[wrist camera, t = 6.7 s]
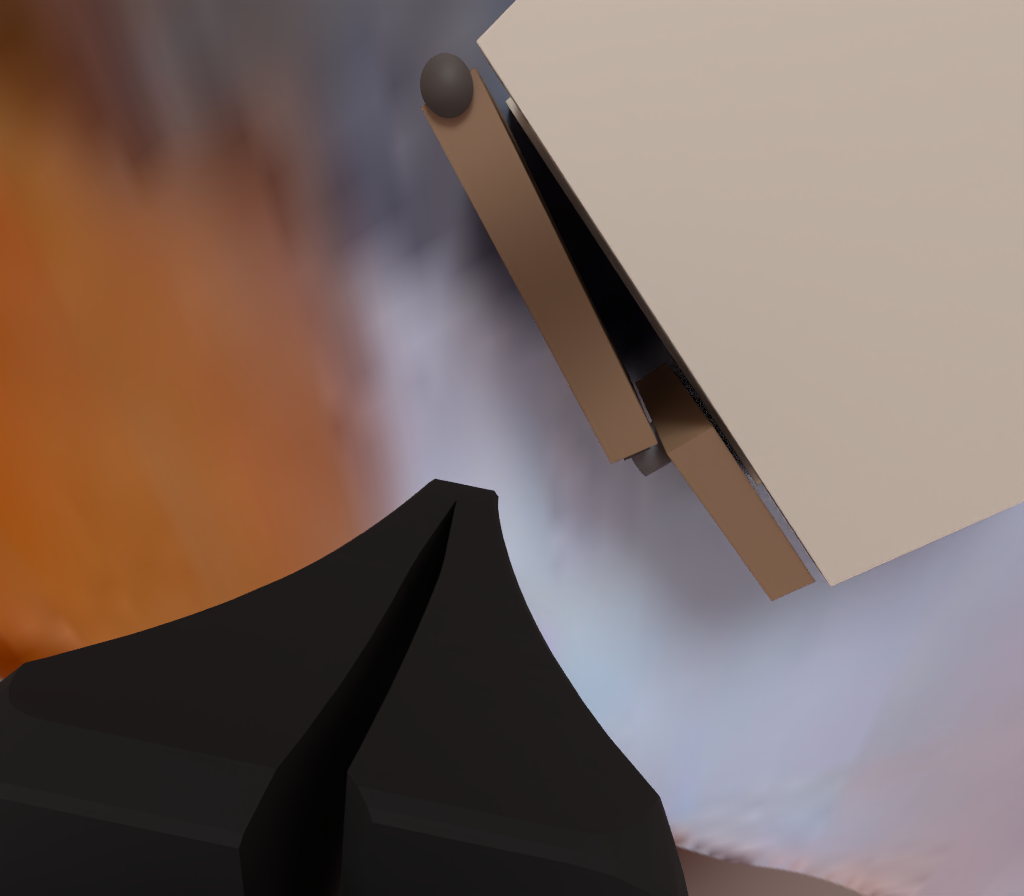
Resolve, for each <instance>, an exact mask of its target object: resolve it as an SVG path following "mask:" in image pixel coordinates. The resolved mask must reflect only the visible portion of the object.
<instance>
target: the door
mask: <svg viewBox="0 0 1024 896" xmlns="http://www.w3.org/2000/svg"><path fill="white" fill-rule="evenodd" d="M420 88H421V94H422V97H423V99H424V102H425V103H426V104H424V105H423V106H422V107H421V108H422V110H423V112H424V114H425V116H426V118H427V119H428V121H429V123H430V125H431V127H432V129H433V131H434V133H435V134H436V136H437V138H438V140H439V142H440V144H441V146H442V148H443V149H444V151H445V153H446V155H447V157H448V159H449V161H450V163H451V164H452V166H453V168H454V170H455V172H456V174H457V176H458V178H459V179H460V181H461V183H462V185H463V187H464V189H465V191H466V193H467V194H468V196H469V198H470V200H471V202H472V204H473V206H474V208H475V209H476V211H477V213H478V215H479V217H480V219H481V221H482V223H483V224H484V226H485V228H486V230H487V232H488V234H489V236H490V238H491V239H492V241H493V243H494V245H495V247H496V249H497V251H498V253H499V254H500V256H501V258H502V260H503V262H504V264H505V266H506V268H507V269H508V271H509V273H510V275H511V277H512V279H513V281H514V283H515V285H516V286H517V288H518V290H519V292H520V294H521V296H522V298H523V300H524V301H525V303H526V305H527V307H528V309H529V311H530V313H531V315H532V316H533V318H534V320H535V322H536V324H537V326H538V328H539V330H540V331H541V333H542V335H543V337H544V339H545V341H546V343H547V345H548V346H549V348H550V350H551V352H552V354H553V356H554V358H555V360H556V361H557V363H558V365H559V367H560V369H561V371H562V373H563V375H564V376H565V378H566V380H567V382H568V384H569V386H570V388H571V390H572V391H573V393H574V395H575V397H576V399H577V401H578V403H579V405H580V406H581V408H582V410H583V412H584V414H585V416H586V418H587V420H588V421H589V423H590V425H591V427H592V429H593V431H594V433H595V435H596V436H597V438H598V440H599V442H600V444H601V446H602V448H603V450H604V451H605V453H606V455H607V457H608V459H609V461H610V463H611V464H612V463H614V462H617V461H619V460H621V459H623V458H624V460H626V459H628V458H631V457H633V456H635V455H638V454H640V453H642V452H644V451H647V450H649V449H650V447H651V446H653V445H655V444H658V442H657V440H656V438H655V435H654V433H653V431H652V428H651V426H650V424H649V421H648V419H647V417H646V414H645V412H644V410H643V407H642V405H641V403H640V400H639V398H638V396H637V393H636V391H635V389H634V386H633V384H632V382H631V379H630V377H629V375H628V373H627V370H626V368H625V366H624V364H623V362H622V360H621V358H620V356H619V354H618V352H617V350H616V348H615V346H614V343H613V341H612V339H611V337H610V335H609V333H608V331H607V329H606V327H605V325H604V323H603V321H602V319H601V317H600V314H599V312H598V310H597V308H596V306H595V304H594V302H593V300H592V298H591V296H590V294H589V292H588V290H587V288H586V285H585V283H584V281H583V279H582V277H581V275H580V273H579V271H578V269H577V267H576V265H575V263H574V261H573V259H572V256H571V254H570V252H569V250H568V248H567V246H566V244H565V242H564V240H563V238H562V236H561V234H560V232H559V230H558V227H557V225H556V223H555V221H554V219H553V217H552V215H551V213H550V211H549V209H548V207H547V205H546V203H545V201H544V198H543V196H542V194H541V192H540V190H539V188H538V186H537V184H536V182H535V180H534V178H533V176H532V174H531V172H530V169H529V167H528V165H527V163H526V161H525V159H524V157H523V155H522V153H521V151H520V149H519V147H518V145H517V143H516V140H515V138H514V136H513V134H512V132H511V130H510V128H509V126H508V124H507V122H506V120H505V118H504V116H503V114H502V113H501V111H500V109H499V107H498V106H497V104H496V102H495V101H494V99H493V97H492V95H491V94H490V92H489V90H488V88H487V87H486V85H485V83H484V81H483V80H482V78H481V76H480V75H479V73H478V71H477V69H476V68H473V69H472V70H471V71H469V69H468V68H467V66H466V65H465V63H464V62H463V61H462V60H461V59H460V58H458V57H457V56H455V55H452V54H448V53H442V54H438V55H436V56H434V57H433V58H431V59H430V60H429V61H428V62H427V64H426V65H425V67H424V69H423V71H422V74H421V80H420Z"/></svg>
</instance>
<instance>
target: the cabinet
mask: <svg viewBox="0 0 1024 896" xmlns="http://www.w3.org/2000/svg"><path fill="white" fill-rule="evenodd" d="M477 43H478V45H479V48H480V50H481V52H482V54H483V55H484V57H485V58H486V60H487V61H488V63H489V64H490V66H491V67H492V69H493V70H494V72H495V74H496V75H497V77H498V78H499V80H500V81H501V83H502V84H503V86H504V87H505V89H506V90H507V92H508V93H509V95H510V98H509V99H508V100H507V101H506V103H507V106H508V107H509V109H510V110H511V112H512V113H513V115H514V117H515V118H516V120H517V121H518V123H519V124H520V126H521V127H522V129H523V130H524V132H525V133H526V135H527V136H528V138H529V139H530V141H531V142H532V144H533V145H534V147H535V148H536V150H537V152H538V153H539V155H540V156H541V158H542V159H543V161H544V162H545V164H546V165H547V167H548V168H549V170H550V171H551V173H552V174H553V176H554V177H555V179H556V180H557V182H558V184H559V185H560V187H561V188H562V190H563V191H564V193H565V194H566V196H567V197H568V199H569V200H570V202H571V203H572V205H573V206H574V208H575V209H576V211H577V212H578V214H579V215H580V217H581V219H582V220H583V222H584V223H585V225H586V226H587V228H588V229H589V231H590V232H591V234H592V235H593V237H594V238H595V240H596V241H597V243H598V244H599V246H600V247H601V249H602V251H603V252H604V254H605V255H606V257H607V258H608V260H609V261H610V263H611V264H612V266H613V267H614V269H615V270H616V272H617V273H618V275H619V276H620V278H621V279H622V281H623V282H624V284H625V286H626V287H627V289H628V290H629V292H630V293H631V295H632V296H633V298H634V299H635V301H636V302H637V304H638V305H639V307H640V308H641V310H642V311H643V313H644V314H645V316H646V318H647V319H648V321H649V322H650V324H651V325H652V327H653V328H654V330H655V331H656V333H657V334H658V336H659V337H660V339H661V340H662V342H663V343H664V345H665V346H666V348H667V349H668V351H669V353H670V354H671V356H672V357H673V359H674V360H675V362H676V363H677V365H678V366H679V368H680V369H681V371H682V372H683V374H684V375H685V377H686V378H687V380H688V381H689V383H690V385H691V386H692V388H693V389H694V391H695V392H696V394H697V395H698V397H699V398H700V400H701V401H702V403H703V404H704V406H705V407H706V409H707V410H708V412H709V413H710V415H711V416H712V418H713V420H714V421H715V423H716V424H717V426H718V427H719V429H720V430H721V432H722V433H723V435H724V436H725V438H726V439H727V441H728V442H729V444H730V445H731V447H732V448H733V450H734V452H735V453H736V455H737V456H738V458H739V459H740V461H741V462H742V464H743V465H744V467H745V468H746V470H747V471H748V473H749V474H750V476H751V477H752V479H753V480H754V481H755V483H756V484H757V485H759V484H761V483H762V484H763V485H764V487H765V488H766V490H767V491H768V493H769V494H770V496H771V497H772V499H773V500H774V502H775V504H776V505H777V507H778V508H779V510H780V511H781V513H782V514H783V516H784V517H785V519H786V520H787V522H788V523H789V525H790V527H791V528H792V530H793V531H794V533H795V534H796V536H797V537H798V539H799V540H800V542H801V543H802V545H803V547H804V548H805V550H806V551H807V553H808V554H809V556H810V557H811V559H812V560H813V562H814V563H815V565H816V566H817V568H818V569H819V571H820V572H821V574H822V575H823V576H824V578H825V579H826V580H827V582H828V583H829V585H830V586H833V585H836V584H838V583H840V582H843V581H845V580H847V579H849V578H852V577H854V576H856V575H858V574H861V573H863V572H865V571H867V570H870V569H872V568H874V567H876V566H879V565H881V564H883V563H886V562H888V561H890V560H892V559H895V558H897V557H899V556H901V555H904V554H906V553H908V552H910V551H913V550H915V549H917V548H920V547H922V546H924V545H926V544H929V543H931V542H933V541H935V540H938V539H940V538H942V537H944V536H947V535H949V534H951V533H953V532H956V531H958V530H960V529H963V528H965V527H967V526H969V525H972V524H974V523H976V522H978V521H981V520H983V519H985V518H987V517H990V516H992V515H994V514H996V513H999V512H1001V511H1003V510H1006V509H1008V508H1010V507H1012V506H1015V505H1017V504H1019V503H1021V502H1024V0H516V1H515V2H514V3H513V4H512V5H511V6H510V7H509V8H508V9H507V10H506V11H505V12H504V13H503V14H502V15H501V16H500V17H499V18H498V20H497V21H496V22H495V23H494V24H493V25H492V26H491V27H490V28H489V29H488V30H487V31H486V32H485V33H484V34H483V35H482V36H481V37H480V38H479V39H478V40H477ZM636 386H637V388H638V390H639V392H640V394H641V397H642V399H643V401H644V403H645V406H646V408H647V410H648V412H649V415H650V417H651V419H652V421H653V422H651V423H650V426H651V428H652V431H653V433H654V435H655V438H656V440H657V442H658V444H655V445H653V446H651V447H650V449H649V450H647V451H644V452H642V453H640V454H638V455H635V456H633V457H631V458H632V460H633V461H634V463H635V464H636V466H637V467H638V468H639V470H640V471H641V472H642V473H643V474H644V475H645V476H647V475H649V474H651V473H652V472H654V471H656V470H658V469H659V468H661V467H663V466H664V465H666V464H668V463H670V462H671V461H672V462H673V463H674V464H675V466H676V467H677V469H678V470H679V471H680V473H681V474H682V476H683V477H684V478H685V480H686V481H687V483H688V484H689V485H690V487H691V488H692V490H693V491H694V493H695V494H696V495H697V497H698V498H699V500H700V501H701V502H702V504H703V505H704V507H705V508H706V509H707V511H708V512H709V514H710V515H711V516H712V518H713V519H714V521H715V522H716V523H717V525H718V526H719V528H720V529H721V531H722V532H723V533H724V535H725V536H726V538H727V539H728V540H729V542H730V543H731V545H732V546H733V547H734V549H735V550H736V552H737V553H738V554H739V556H740V557H741V559H742V560H743V561H744V563H745V564H746V566H747V567H748V568H749V570H750V571H751V573H752V574H753V576H754V577H755V578H756V580H757V581H758V583H759V584H760V585H761V587H762V588H763V590H764V591H765V592H766V594H767V595H768V597H769V598H770V599H771V601H773V600H775V599H777V598H780V597H782V596H784V595H786V594H789V593H791V592H793V591H795V590H797V589H800V588H802V587H804V586H806V585H809V584H811V583H813V582H815V580H814V579H813V577H812V576H811V574H810V572H809V571H808V569H807V568H806V566H805V565H804V563H803V562H802V560H801V559H800V557H799V556H798V554H797V553H796V551H795V550H794V548H793V547H792V545H791V544H790V542H789V541H788V539H787V538H786V536H785V535H784V533H783V532H782V530H781V529H780V527H779V526H778V524H777V523H776V521H775V520H774V518H773V516H772V515H771V513H770V512H769V510H768V509H767V507H766V506H765V504H764V503H763V501H762V500H761V498H760V497H759V495H758V494H757V492H756V491H755V489H754V488H753V486H752V485H751V483H750V482H749V480H748V479H747V477H746V476H745V474H744V473H743V471H742V470H741V468H740V467H739V465H738V463H737V462H736V460H735V459H734V457H733V456H732V454H731V453H730V451H729V450H728V448H727V447H726V445H725V444H724V442H723V441H722V439H721V438H720V436H719V435H718V433H717V432H716V430H715V429H714V427H713V426H712V424H711V423H710V422H709V420H708V419H707V417H706V416H705V415H704V413H703V412H702V410H701V409H700V408H699V406H698V405H697V403H696V402H695V401H694V399H693V398H692V397H691V395H690V394H689V392H688V391H687V390H686V388H685V387H684V385H683V384H682V383H681V381H680V380H679V378H678V377H677V376H676V374H675V373H674V371H673V370H672V369H671V367H670V366H669V365H668V363H667V362H666V363H665V364H663V365H662V366H660V367H659V368H657V369H656V370H654V371H653V372H651V373H650V374H648V375H647V376H645V377H644V378H642V379H641V380H639V381H638V382H636Z"/></svg>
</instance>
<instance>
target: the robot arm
mask: <svg viewBox="0 0 1024 896" xmlns="http://www.w3.org/2000/svg"><path fill="white" fill-rule="evenodd" d="M0 896H688V891H687V887H686V882H685V878H684V874H683V870H682V867H681V863H680V860H679V856H678V853H677V849H676V846H675V842H674V839H673V836H672V832H671V829H670V826H669V823H668V820H667V817H666V814H665V810H664V807H663V804H662V802H661V799H660V796H659V795H658V794H657V793H656V791H655V790H654V789H653V788H652V787H651V786H650V784H649V783H648V782H647V781H646V780H645V779H644V777H643V776H642V775H641V774H640V773H639V771H638V770H637V769H636V768H635V767H634V766H633V764H632V763H631V762H630V761H629V760H628V759H627V757H626V756H625V755H624V754H623V753H622V752H621V750H620V749H619V748H618V747H617V746H616V744H615V743H614V742H613V741H612V740H611V739H610V737H609V736H608V735H607V734H606V732H605V731H604V729H603V728H602V727H601V725H600V724H599V723H598V721H597V720H596V719H595V717H594V716H593V714H592V713H591V712H590V710H589V709H588V708H587V706H586V705H585V704H584V702H583V701H582V699H581V698H580V696H579V695H578V693H577V691H576V690H575V688H574V687H573V685H572V684H571V682H570V681H569V679H568V678H567V676H566V674H565V673H564V671H563V670H562V668H561V667H560V665H559V664H558V662H557V660H556V659H555V657H554V656H553V654H552V652H551V651H550V649H549V647H548V645H547V643H546V641H545V640H544V638H543V636H542V634H541V632H540V631H539V629H538V627H537V625H536V623H535V621H534V619H533V616H532V614H531V612H530V610H529V608H528V606H527V604H526V602H525V599H524V597H523V594H522V592H521V590H520V587H519V585H518V582H517V579H516V577H515V574H514V571H513V568H512V565H511V562H510V559H509V556H508V552H507V549H506V546H505V542H504V539H503V534H502V530H501V525H500V519H499V512H498V496H497V494H496V493H495V491H492V490H487V489H483V488H478V487H473V486H468V485H463V484H458V483H453V482H448V481H444V480H439V479H434V480H433V481H431V482H429V483H428V484H427V485H426V486H425V487H423V488H422V489H421V490H420V491H419V492H417V493H416V494H415V495H414V496H412V497H411V498H410V499H409V500H407V501H406V502H405V503H404V504H402V505H401V506H400V507H399V508H397V509H396V510H394V511H393V512H392V513H390V514H389V515H388V516H386V517H385V518H384V519H382V520H381V521H379V522H378V523H377V524H375V525H374V526H373V527H371V528H370V529H368V530H367V531H365V532H364V533H362V534H360V535H359V536H357V537H356V538H354V539H353V540H351V541H350V542H348V543H346V544H345V545H343V546H342V547H340V548H339V549H337V550H335V551H334V552H332V553H330V554H328V555H327V556H325V557H323V558H321V559H320V560H318V561H316V562H314V563H312V564H310V565H308V566H306V567H304V568H303V569H301V570H299V571H297V572H295V573H293V574H291V575H288V576H286V577H284V578H282V579H280V580H277V581H275V582H273V583H270V584H268V585H266V586H263V587H261V588H259V589H256V590H254V591H252V592H249V593H247V594H245V595H242V596H240V597H238V598H235V599H233V600H230V601H228V602H225V603H223V604H220V605H217V606H215V607H212V608H209V609H206V610H204V611H201V612H198V613H195V614H193V615H190V616H187V617H184V618H181V619H178V620H175V621H172V622H169V623H166V624H163V625H160V626H157V627H154V628H150V629H147V630H144V631H141V632H137V633H134V634H131V635H127V636H124V637H120V638H117V639H113V640H109V641H106V642H102V643H98V644H95V645H91V646H87V647H84V648H80V649H76V650H73V651H69V652H65V653H62V654H58V655H55V656H51V657H47V658H43V659H39V660H35V661H31V662H27V663H24V664H23V665H21V666H20V667H19V668H18V669H16V670H15V671H14V672H12V673H11V674H10V675H9V676H7V677H6V678H5V679H4V680H3V681H1V682H0Z"/></svg>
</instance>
